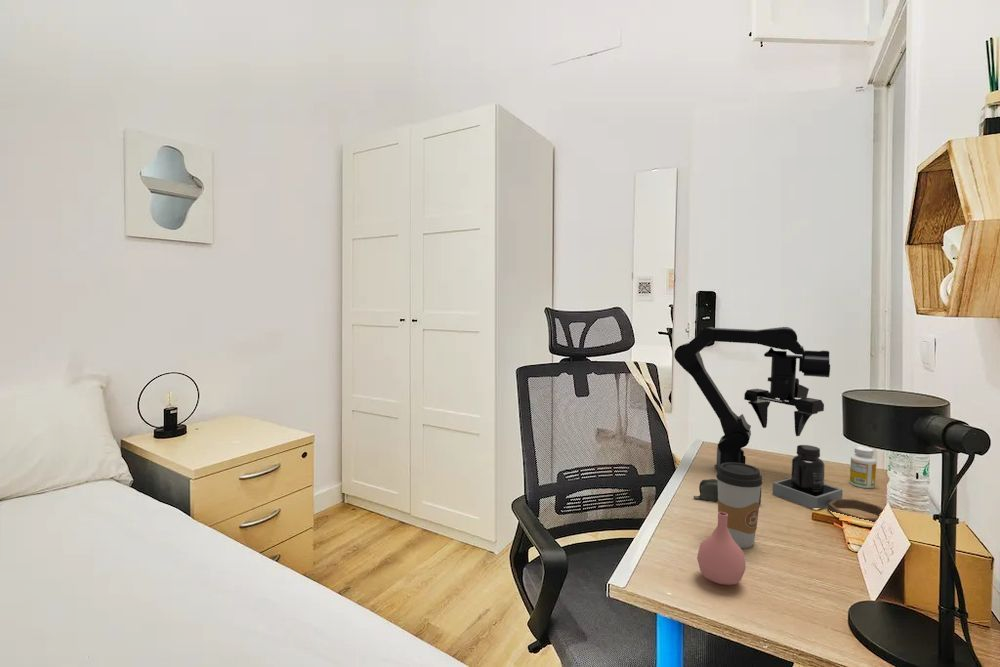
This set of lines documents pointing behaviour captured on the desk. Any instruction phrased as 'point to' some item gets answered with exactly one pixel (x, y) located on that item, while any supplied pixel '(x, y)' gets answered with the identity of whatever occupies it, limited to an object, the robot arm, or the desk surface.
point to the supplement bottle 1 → (808, 471)
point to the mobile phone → (710, 490)
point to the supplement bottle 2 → (863, 468)
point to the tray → (805, 499)
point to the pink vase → (721, 555)
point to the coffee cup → (739, 500)
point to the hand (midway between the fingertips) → (780, 431)
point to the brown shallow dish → (854, 504)
